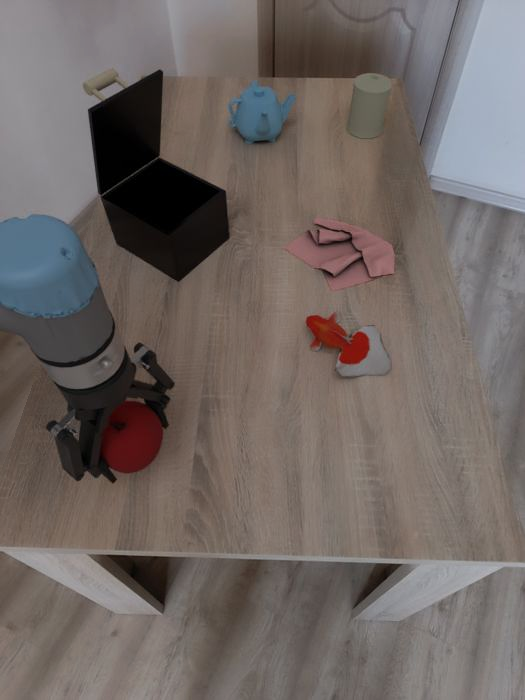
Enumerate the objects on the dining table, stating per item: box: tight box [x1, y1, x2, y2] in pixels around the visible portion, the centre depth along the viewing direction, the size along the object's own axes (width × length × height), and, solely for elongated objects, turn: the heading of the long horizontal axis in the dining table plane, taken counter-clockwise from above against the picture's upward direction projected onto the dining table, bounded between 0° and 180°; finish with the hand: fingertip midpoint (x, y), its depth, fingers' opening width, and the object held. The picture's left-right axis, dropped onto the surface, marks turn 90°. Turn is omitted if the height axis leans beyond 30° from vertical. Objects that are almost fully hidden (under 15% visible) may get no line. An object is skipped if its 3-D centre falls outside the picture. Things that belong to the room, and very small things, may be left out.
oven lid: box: [82, 67, 164, 196], centre depth 84 cm, size 18×16×7 cm
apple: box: [99, 399, 164, 474], centre depth 61 cm, size 9×9×10 cm
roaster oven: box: [100, 156, 230, 283], centre depth 94 cm, size 18×16×12 cm
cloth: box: [283, 217, 396, 292], centre depth 96 cm, size 20×22×2 cm
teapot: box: [227, 80, 297, 145], centre depth 116 cm, size 15×14×11 cm
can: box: [346, 72, 393, 140], centre depth 117 cm, size 9×9×12 cm
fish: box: [305, 309, 392, 379], centre depth 79 cm, size 11×16×10 cm
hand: (135, 448), depth 65 cm, fingers closed on apple, 9 cm apart
